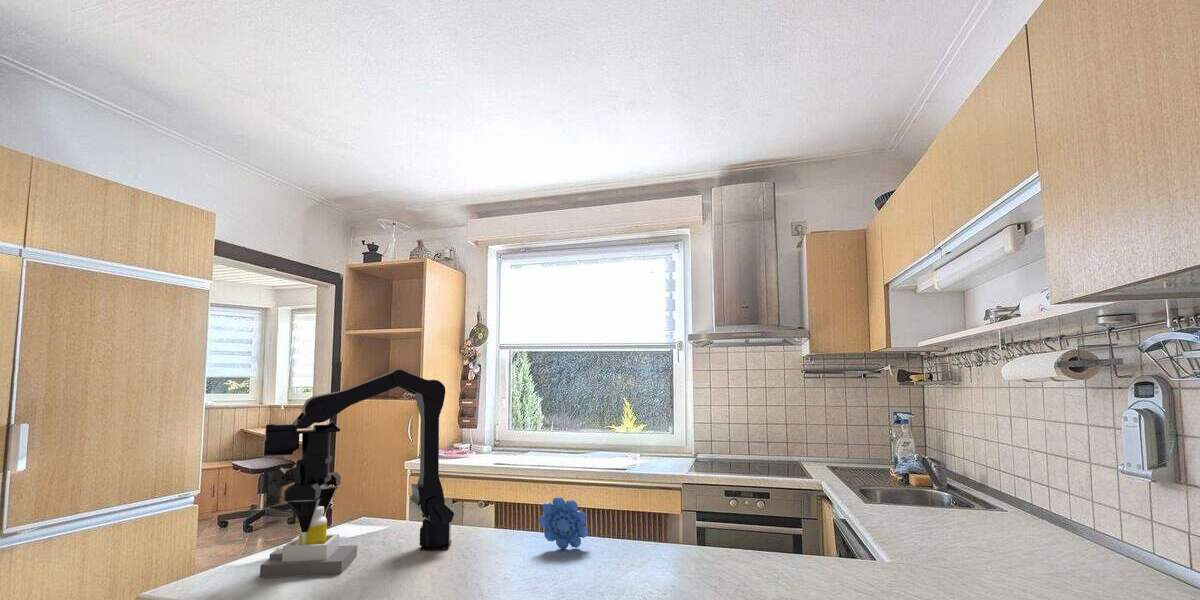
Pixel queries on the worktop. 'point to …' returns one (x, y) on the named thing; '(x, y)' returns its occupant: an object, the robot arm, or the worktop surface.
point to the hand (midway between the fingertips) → (312, 526)
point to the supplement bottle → (315, 529)
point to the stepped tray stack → (309, 559)
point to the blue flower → (563, 523)
